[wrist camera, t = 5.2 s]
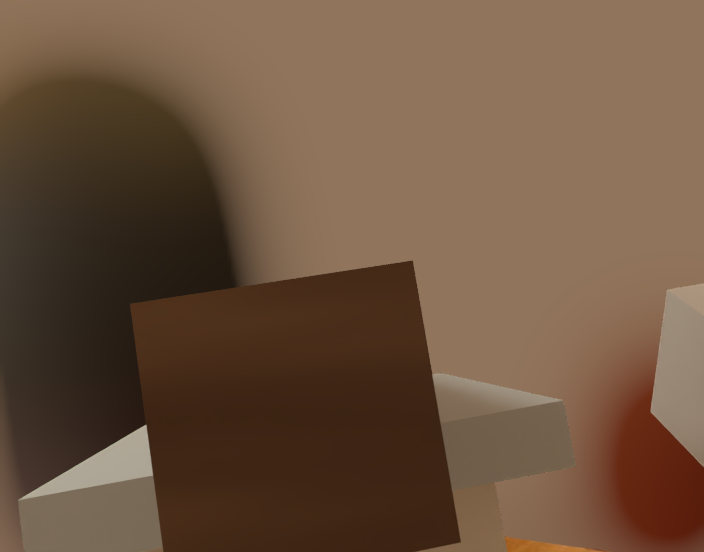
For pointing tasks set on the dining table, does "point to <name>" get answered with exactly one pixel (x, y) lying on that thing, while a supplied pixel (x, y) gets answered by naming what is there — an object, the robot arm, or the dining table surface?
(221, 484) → the walnut block
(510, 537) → the dining table surface
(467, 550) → the stand
